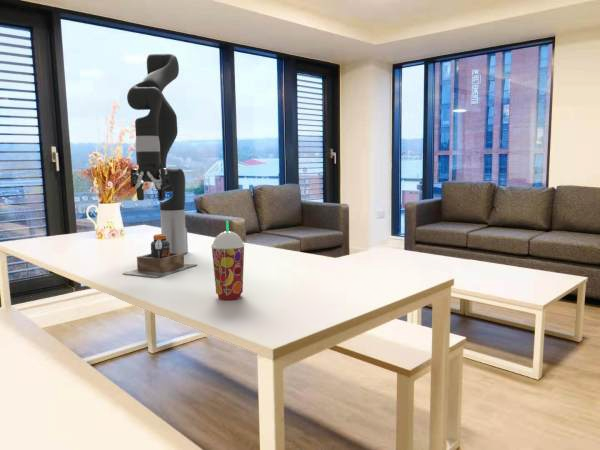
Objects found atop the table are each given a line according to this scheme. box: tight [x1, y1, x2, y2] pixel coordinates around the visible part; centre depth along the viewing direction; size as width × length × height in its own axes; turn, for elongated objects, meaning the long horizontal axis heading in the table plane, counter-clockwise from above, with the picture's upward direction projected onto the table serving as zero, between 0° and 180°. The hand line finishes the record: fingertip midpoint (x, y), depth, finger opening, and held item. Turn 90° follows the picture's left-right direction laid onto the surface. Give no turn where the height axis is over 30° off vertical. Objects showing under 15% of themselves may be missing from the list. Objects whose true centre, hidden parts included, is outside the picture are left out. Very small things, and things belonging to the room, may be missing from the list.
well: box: [122, 253, 198, 279], centre depth 160 cm, size 20×14×5 cm
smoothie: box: [210, 220, 246, 301], centre depth 124 cm, size 8×8×20 cm
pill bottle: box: [150, 234, 170, 258], centre depth 160 cm, size 6×6×11 cm
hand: (151, 200), depth 160 cm, fingers open, 8 cm apart
